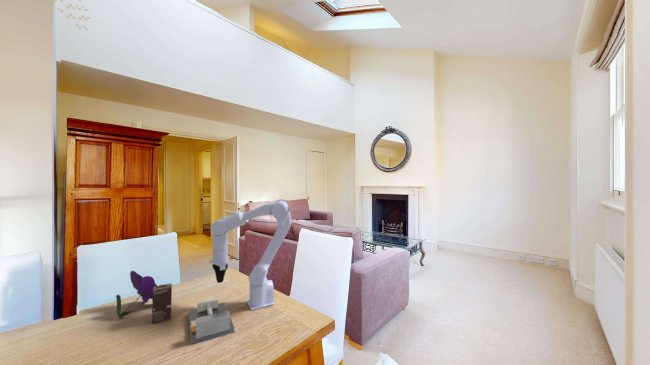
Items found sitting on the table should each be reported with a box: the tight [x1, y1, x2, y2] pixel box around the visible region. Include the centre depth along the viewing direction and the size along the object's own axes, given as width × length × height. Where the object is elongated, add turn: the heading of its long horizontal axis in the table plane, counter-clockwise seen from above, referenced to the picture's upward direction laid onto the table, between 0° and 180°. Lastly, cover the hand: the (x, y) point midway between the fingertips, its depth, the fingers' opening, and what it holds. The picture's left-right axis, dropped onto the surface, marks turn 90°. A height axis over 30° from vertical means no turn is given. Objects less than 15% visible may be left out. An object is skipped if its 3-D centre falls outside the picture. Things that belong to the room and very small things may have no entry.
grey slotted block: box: [197, 297, 219, 315], centre depth 94 cm, size 8×7×3 cm
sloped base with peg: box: [187, 301, 235, 345], centre depth 91 cm, size 20×13×6 cm, turn 31°
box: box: [151, 283, 173, 324], centre depth 93 cm, size 6×4×12 cm
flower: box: [115, 270, 158, 318], centre depth 98 cm, size 15×15×14 cm
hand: (220, 281), depth 104 cm, fingers closed
